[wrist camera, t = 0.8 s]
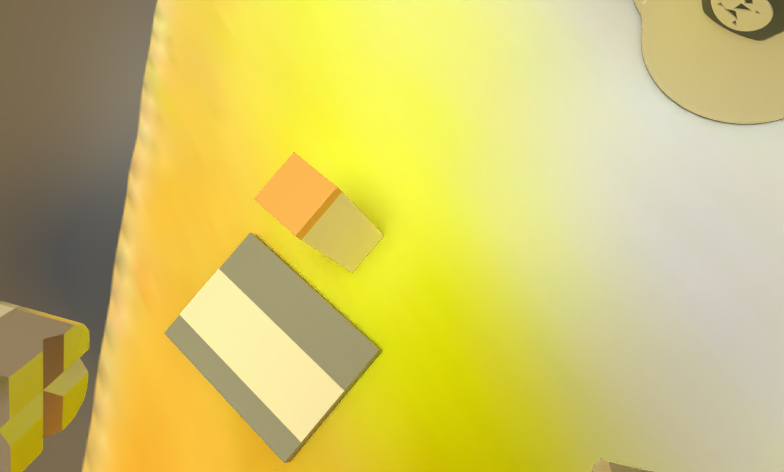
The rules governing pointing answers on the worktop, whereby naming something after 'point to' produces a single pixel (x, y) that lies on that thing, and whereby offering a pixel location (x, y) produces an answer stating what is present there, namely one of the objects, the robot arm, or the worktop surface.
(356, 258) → the orange-capped beige pillar
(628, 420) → the worktop surface
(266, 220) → the worktop surface
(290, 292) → the board
